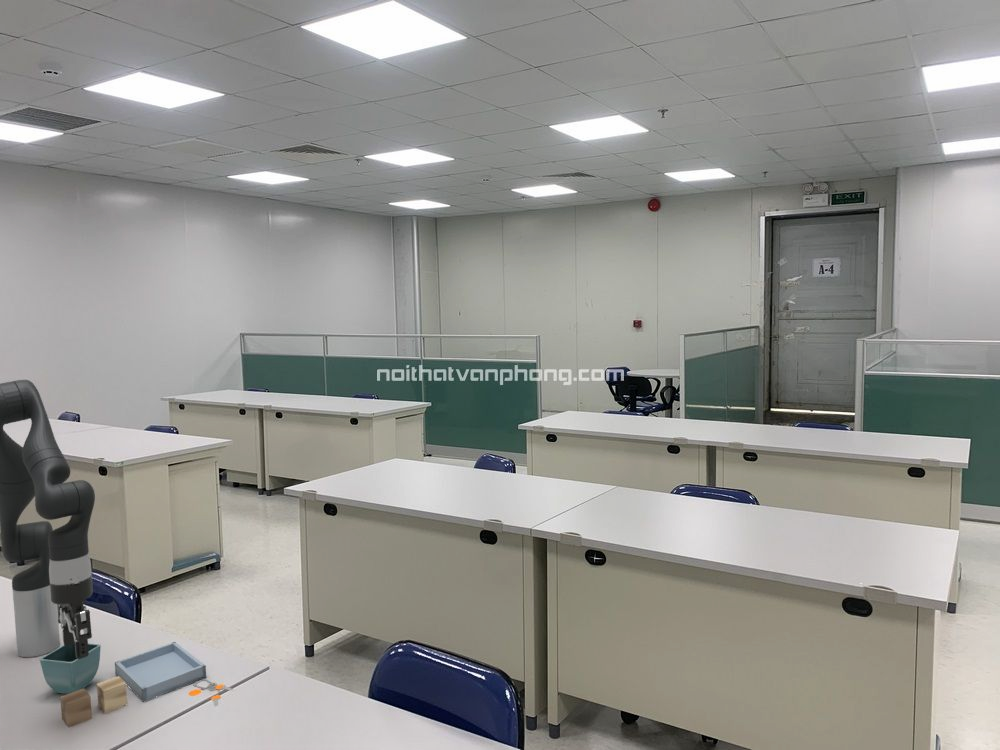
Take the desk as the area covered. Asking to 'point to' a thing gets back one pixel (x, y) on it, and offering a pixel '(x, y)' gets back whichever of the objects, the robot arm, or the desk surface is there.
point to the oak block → (111, 694)
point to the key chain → (215, 698)
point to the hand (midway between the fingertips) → (76, 650)
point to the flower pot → (70, 668)
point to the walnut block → (76, 707)
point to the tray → (160, 670)
